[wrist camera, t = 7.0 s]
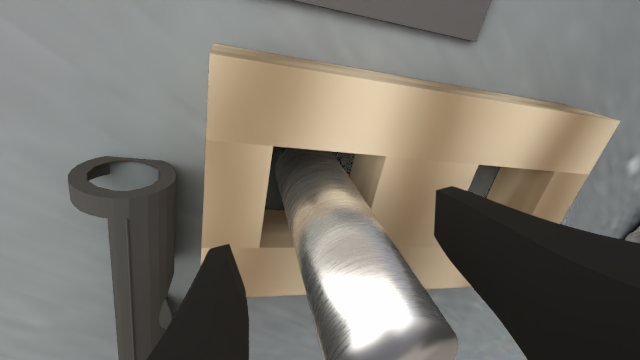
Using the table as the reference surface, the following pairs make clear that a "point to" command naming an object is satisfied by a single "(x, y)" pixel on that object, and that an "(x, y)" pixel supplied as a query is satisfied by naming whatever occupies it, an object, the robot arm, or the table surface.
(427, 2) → the mat
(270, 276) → the hole block
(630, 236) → the mineral rock
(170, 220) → the caulking gun
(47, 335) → the table surface
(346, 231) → the peg
